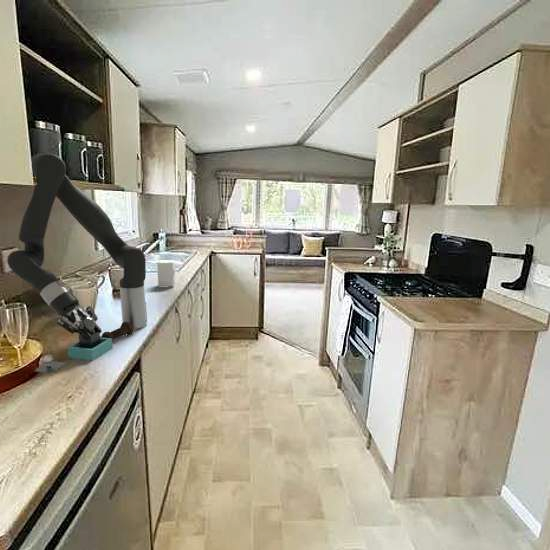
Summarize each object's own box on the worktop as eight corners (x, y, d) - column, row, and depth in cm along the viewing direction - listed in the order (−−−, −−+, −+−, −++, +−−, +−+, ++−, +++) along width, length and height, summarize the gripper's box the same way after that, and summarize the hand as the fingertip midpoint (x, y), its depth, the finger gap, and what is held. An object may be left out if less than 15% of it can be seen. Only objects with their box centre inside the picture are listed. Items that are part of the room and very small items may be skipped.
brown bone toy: (97, 352, 132) (128, 336, 146) (106, 347, 130) (136, 332, 144) (89, 338, 132) (121, 323, 146) (98, 333, 130) (129, 319, 143)
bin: (90, 349, 130) (89, 336, 129) (113, 352, 128) (111, 338, 127) (69, 361, 120) (67, 347, 119) (93, 364, 118) (92, 350, 117)
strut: (89, 344, 126) (86, 315, 124) (100, 346, 125) (98, 317, 123) (80, 349, 122) (77, 320, 119) (91, 351, 121) (89, 321, 119)
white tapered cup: (173, 287, 218) (172, 262, 215) (158, 287, 217) (156, 262, 213) (175, 283, 227) (174, 259, 224) (160, 284, 225) (159, 260, 222)
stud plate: (48, 364, 118) (46, 349, 117) (67, 367, 116) (66, 351, 115) (30, 375, 111) (28, 358, 110) (50, 377, 110) (48, 361, 109)
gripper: (48, 296, 114) (86, 337, 114) (81, 285, 128) (114, 322, 128) (35, 311, 116) (72, 351, 116) (69, 299, 130) (102, 335, 130)
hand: (94, 335), depth 122 cm, fingers closed on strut, 4 cm apart
